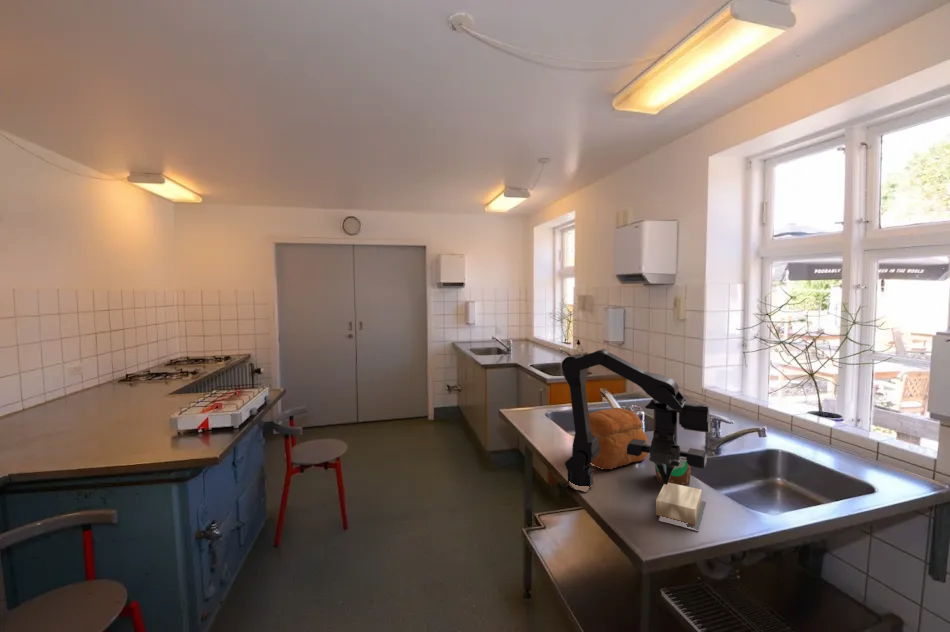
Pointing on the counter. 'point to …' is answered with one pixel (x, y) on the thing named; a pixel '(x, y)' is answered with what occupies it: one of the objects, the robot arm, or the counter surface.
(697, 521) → the rubber mat
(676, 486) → the beige flat block
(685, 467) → the food container
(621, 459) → the bread
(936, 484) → the counter surface
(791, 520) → the counter surface
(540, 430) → the counter surface
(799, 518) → the counter surface
